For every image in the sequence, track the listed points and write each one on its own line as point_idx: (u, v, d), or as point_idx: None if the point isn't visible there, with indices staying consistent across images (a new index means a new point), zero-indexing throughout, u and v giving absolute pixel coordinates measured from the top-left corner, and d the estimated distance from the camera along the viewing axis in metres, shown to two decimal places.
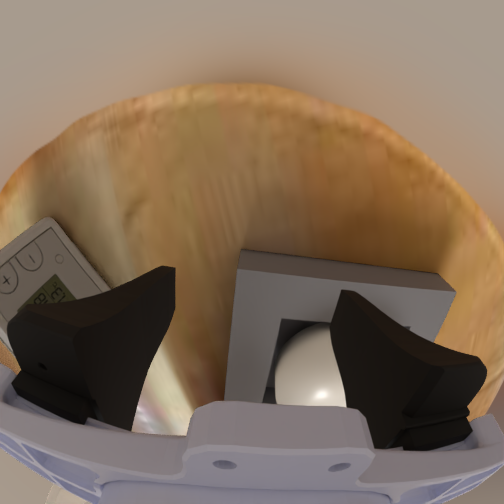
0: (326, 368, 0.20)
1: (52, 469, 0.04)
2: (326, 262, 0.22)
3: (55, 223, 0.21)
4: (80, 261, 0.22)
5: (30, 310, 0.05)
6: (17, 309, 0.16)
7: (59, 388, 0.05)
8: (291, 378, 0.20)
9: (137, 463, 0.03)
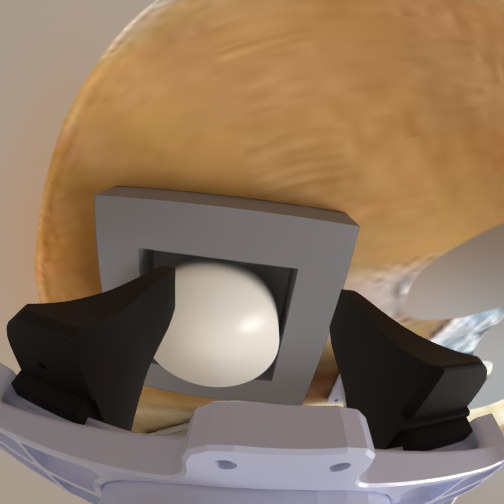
0: (172, 351, 0.20)
1: (52, 469, 0.04)
2: None
3: None
4: (160, 434, 0.31)
5: (30, 310, 0.05)
6: None
7: (59, 388, 0.05)
8: (189, 376, 0.21)
9: (137, 463, 0.03)
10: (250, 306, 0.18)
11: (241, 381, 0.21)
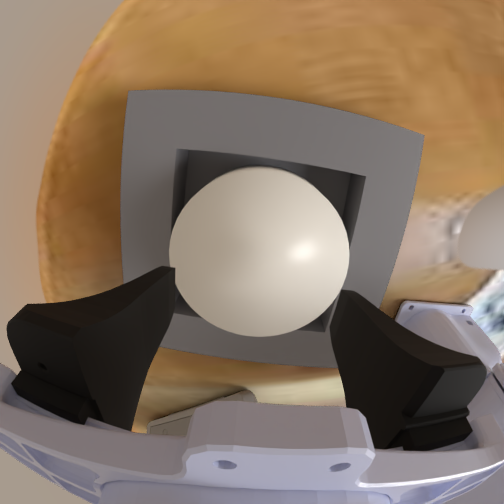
0: (209, 284, 0.16)
1: (52, 469, 0.04)
2: None
3: (150, 422, 0.29)
4: (172, 418, 0.28)
5: (30, 310, 0.05)
6: None
7: (59, 388, 0.05)
8: (228, 321, 0.17)
9: (137, 463, 0.03)
10: (319, 211, 0.14)
11: (295, 326, 0.17)
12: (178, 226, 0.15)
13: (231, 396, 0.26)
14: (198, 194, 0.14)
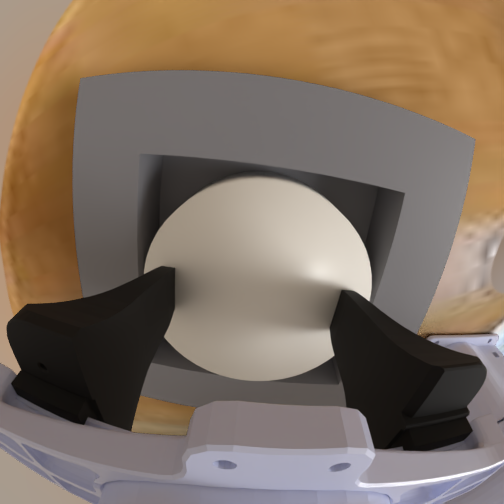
0: (195, 323, 0.13)
1: (52, 469, 0.04)
2: None
3: None
4: None
5: (30, 310, 0.05)
6: None
7: (59, 388, 0.05)
8: (220, 364, 0.14)
9: (137, 463, 0.03)
10: (336, 234, 0.11)
11: (301, 369, 0.14)
12: (153, 253, 0.11)
13: None
14: (176, 213, 0.11)
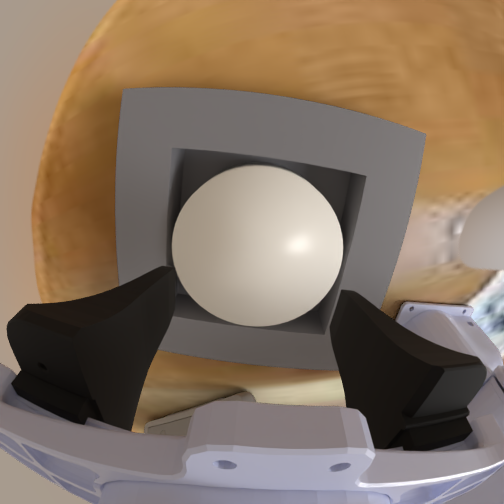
0: (210, 275, 0.17)
1: (52, 469, 0.04)
2: None
3: (147, 423, 0.28)
4: (170, 419, 0.27)
5: (30, 310, 0.05)
6: None
7: (59, 388, 0.05)
8: (228, 311, 0.18)
9: (137, 463, 0.03)
10: (313, 205, 0.15)
11: (292, 315, 0.18)
12: (180, 220, 0.16)
13: (230, 397, 0.25)
14: (200, 189, 0.15)
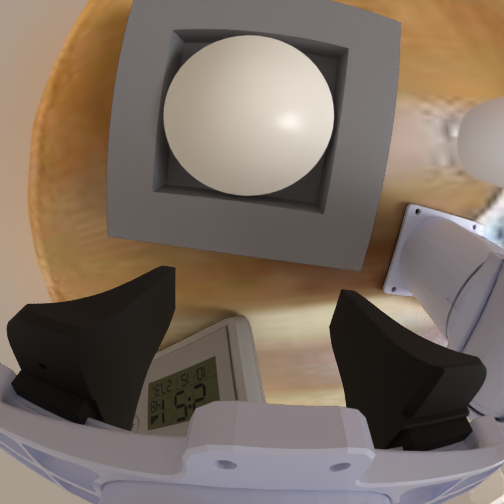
0: (199, 135, 0.16)
1: (52, 469, 0.04)
2: None
3: None
4: (154, 358, 0.26)
5: (30, 310, 0.05)
6: (147, 429, 0.20)
7: (59, 388, 0.05)
8: (217, 176, 0.17)
9: (137, 463, 0.03)
10: (300, 65, 0.14)
11: (286, 181, 0.16)
12: (175, 83, 0.14)
13: (221, 321, 0.24)
14: (194, 55, 0.14)
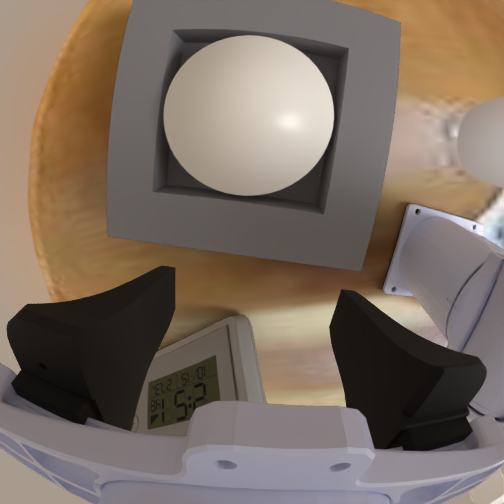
0: (199, 135, 0.16)
1: (52, 469, 0.04)
2: None
3: None
4: (154, 357, 0.26)
5: (30, 310, 0.05)
6: (147, 428, 0.20)
7: (59, 388, 0.05)
8: (217, 176, 0.17)
9: (137, 463, 0.03)
10: (300, 65, 0.14)
11: (286, 181, 0.16)
12: (175, 83, 0.14)
13: (222, 320, 0.24)
14: (194, 55, 0.14)
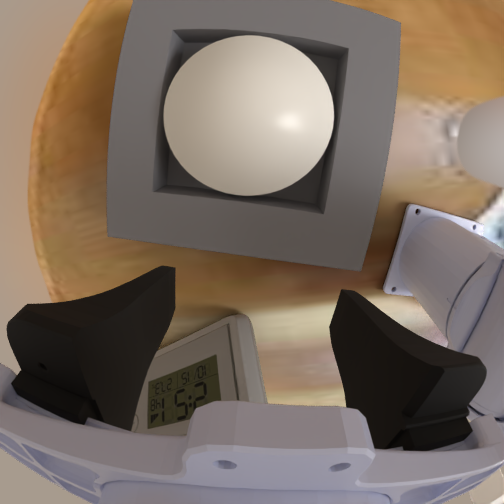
0: (199, 135, 0.16)
1: (52, 469, 0.04)
2: None
3: None
4: (154, 356, 0.26)
5: (30, 310, 0.05)
6: (147, 427, 0.20)
7: (59, 388, 0.05)
8: (217, 176, 0.17)
9: (137, 463, 0.03)
10: (300, 65, 0.14)
11: (286, 181, 0.16)
12: (175, 83, 0.14)
13: (222, 320, 0.24)
14: (194, 55, 0.14)
